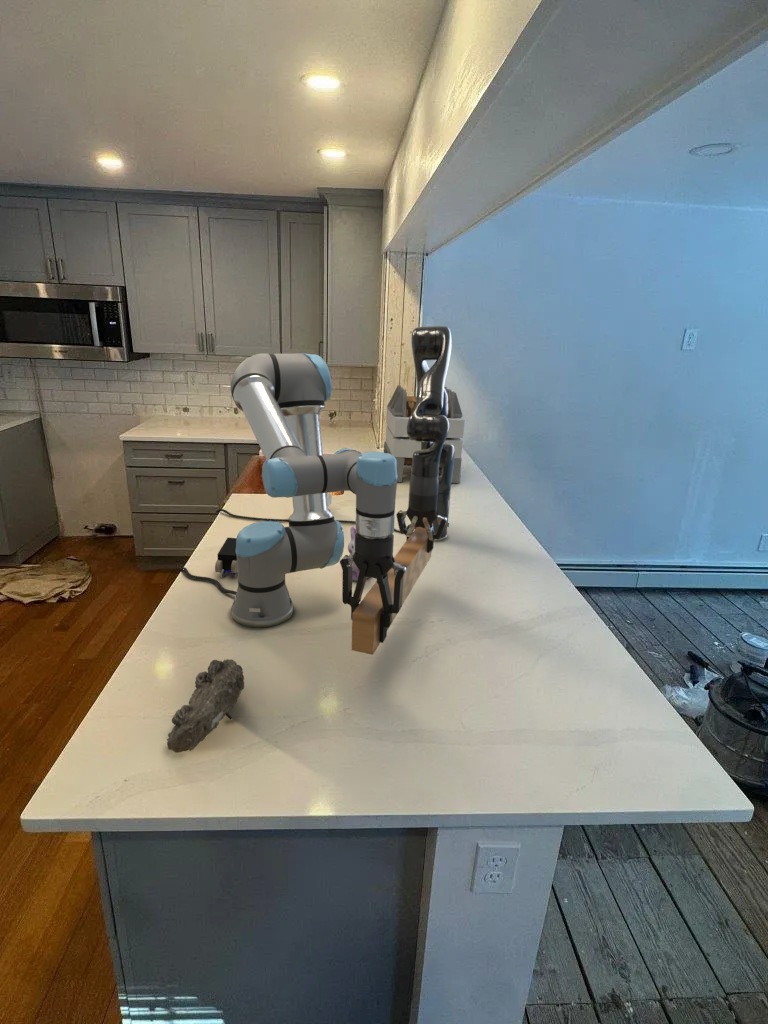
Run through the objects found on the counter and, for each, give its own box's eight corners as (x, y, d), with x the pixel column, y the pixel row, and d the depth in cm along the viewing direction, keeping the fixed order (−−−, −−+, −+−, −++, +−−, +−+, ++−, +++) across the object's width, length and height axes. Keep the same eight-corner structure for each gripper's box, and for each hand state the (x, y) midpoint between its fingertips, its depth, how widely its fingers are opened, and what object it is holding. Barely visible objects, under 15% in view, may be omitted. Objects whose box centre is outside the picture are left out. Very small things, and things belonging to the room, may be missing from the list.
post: (415, 554, 161) (417, 526, 158) (431, 556, 159) (433, 528, 157) (351, 650, 114) (352, 613, 111) (372, 655, 112) (374, 617, 110)
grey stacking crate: (382, 463, 289) (386, 382, 275) (445, 464, 293) (451, 384, 279) (390, 482, 257) (394, 392, 243) (460, 483, 261) (468, 394, 247)
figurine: (352, 584, 162) (353, 535, 156) (338, 570, 170) (339, 523, 165) (381, 578, 166) (384, 531, 161) (366, 565, 174) (368, 519, 169)
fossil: (192, 660, 117) (244, 628, 112) (224, 691, 120) (276, 661, 115) (142, 746, 98) (202, 712, 93) (182, 779, 101) (242, 748, 96)
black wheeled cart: (238, 584, 162) (249, 557, 175) (236, 562, 158) (247, 536, 172) (215, 584, 161) (227, 556, 175) (212, 561, 158) (225, 535, 171)
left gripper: (324, 532, 109) (324, 637, 117) (413, 546, 104) (407, 655, 112) (339, 519, 116) (337, 620, 124) (423, 532, 111) (416, 635, 119)
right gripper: (393, 490, 147) (390, 551, 152) (447, 498, 143) (442, 559, 149) (401, 483, 153) (398, 541, 159) (453, 489, 150) (448, 549, 155)
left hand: (370, 636), depth 118 cm, fingers closed on post, 5 cm apart
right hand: (419, 549), depth 154 cm, fingers closed on post, 4 cm apart
